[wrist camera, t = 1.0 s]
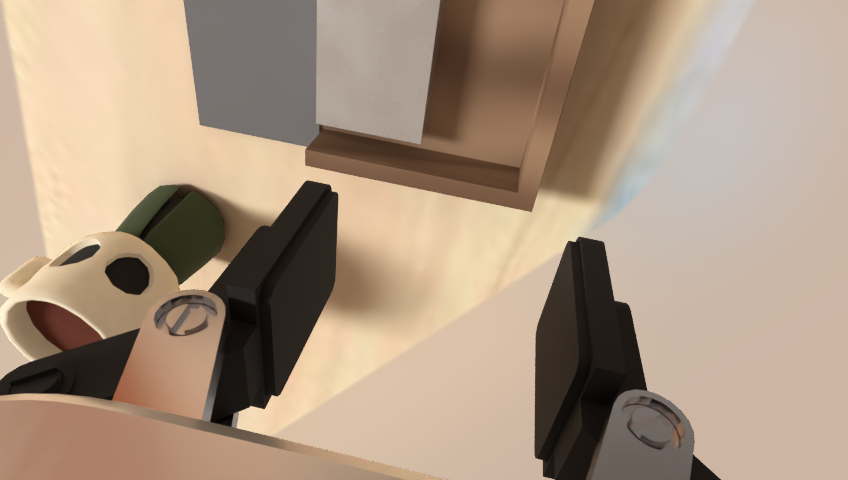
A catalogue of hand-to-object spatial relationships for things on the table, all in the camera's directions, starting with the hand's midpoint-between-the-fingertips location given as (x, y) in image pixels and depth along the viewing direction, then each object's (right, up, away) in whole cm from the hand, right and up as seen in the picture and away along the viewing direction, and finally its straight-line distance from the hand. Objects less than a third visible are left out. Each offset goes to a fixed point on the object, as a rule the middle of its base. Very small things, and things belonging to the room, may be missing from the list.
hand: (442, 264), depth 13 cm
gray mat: (-10, +14, +17) cm, 24 cm away
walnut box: (+1, +11, +16) cm, 20 cm away
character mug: (-18, +2, +27) cm, 32 cm away
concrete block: (-3, +12, +15) cm, 19 cm away
